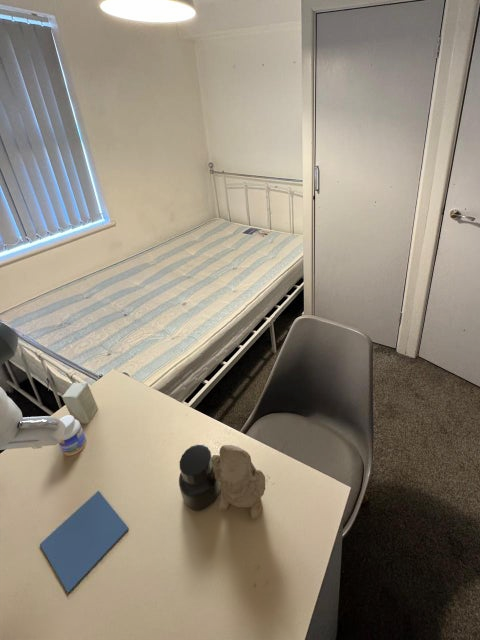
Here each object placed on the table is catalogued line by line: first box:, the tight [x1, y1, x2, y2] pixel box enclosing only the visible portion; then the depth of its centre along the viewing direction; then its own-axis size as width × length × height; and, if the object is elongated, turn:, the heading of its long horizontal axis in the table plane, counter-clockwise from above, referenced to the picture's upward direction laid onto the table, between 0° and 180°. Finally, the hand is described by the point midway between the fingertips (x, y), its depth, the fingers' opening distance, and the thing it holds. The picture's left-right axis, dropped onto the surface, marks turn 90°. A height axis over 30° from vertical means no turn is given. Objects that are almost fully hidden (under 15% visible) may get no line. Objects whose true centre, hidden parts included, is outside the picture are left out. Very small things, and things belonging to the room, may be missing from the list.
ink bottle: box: [178, 443, 221, 512], centre depth 74 cm, size 10×9×12 cm
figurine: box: [211, 444, 266, 520], centre depth 70 cm, size 13×7×20 cm, turn 72°
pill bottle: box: [58, 414, 87, 457], centre depth 84 cm, size 5×5×10 cm
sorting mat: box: [39, 490, 130, 594], centre depth 69 cm, size 13×12×1 cm
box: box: [61, 382, 99, 424], centre depth 92 cm, size 5×4×11 cm
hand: (12, 446), depth 67 cm, fingers open, 8 cm apart
